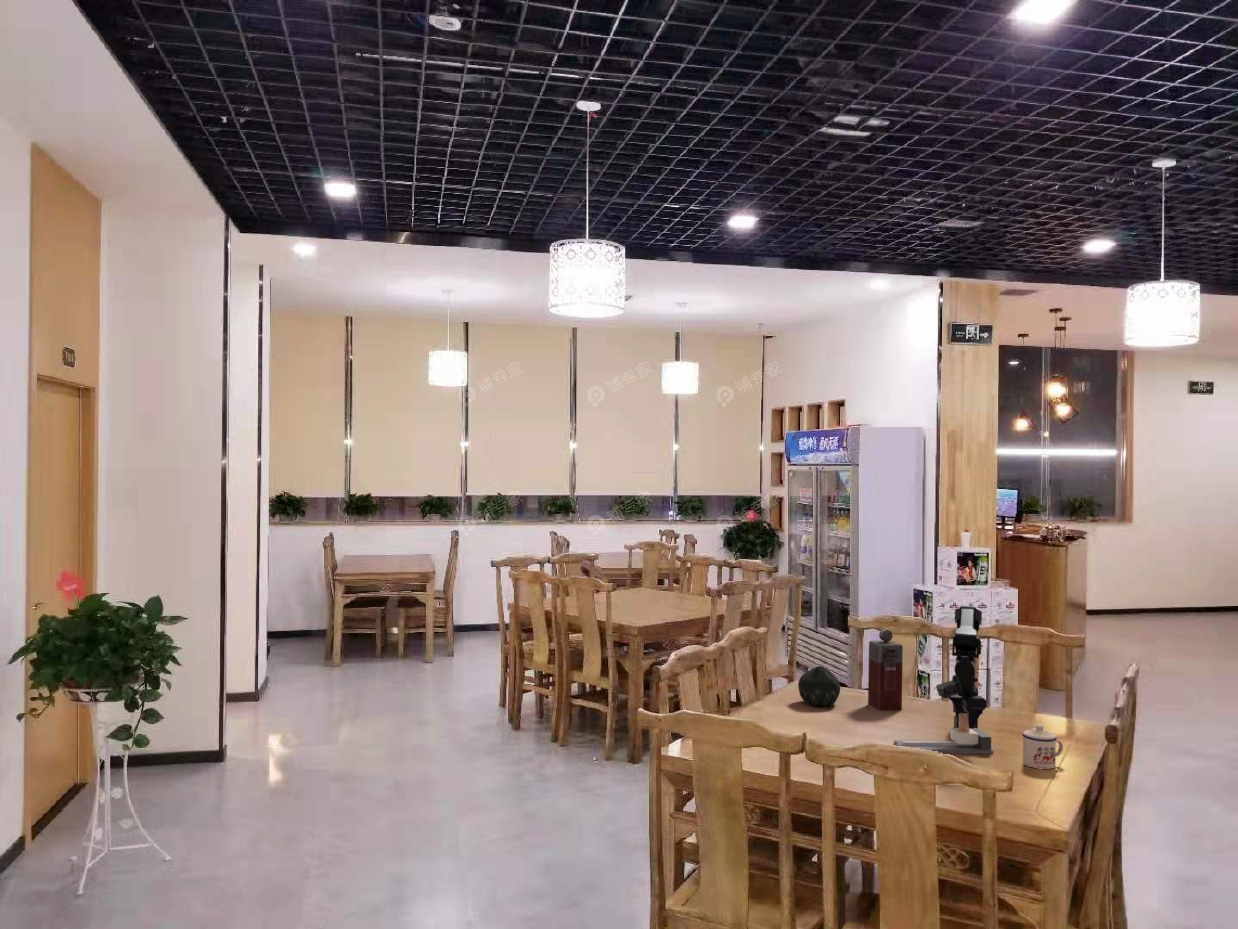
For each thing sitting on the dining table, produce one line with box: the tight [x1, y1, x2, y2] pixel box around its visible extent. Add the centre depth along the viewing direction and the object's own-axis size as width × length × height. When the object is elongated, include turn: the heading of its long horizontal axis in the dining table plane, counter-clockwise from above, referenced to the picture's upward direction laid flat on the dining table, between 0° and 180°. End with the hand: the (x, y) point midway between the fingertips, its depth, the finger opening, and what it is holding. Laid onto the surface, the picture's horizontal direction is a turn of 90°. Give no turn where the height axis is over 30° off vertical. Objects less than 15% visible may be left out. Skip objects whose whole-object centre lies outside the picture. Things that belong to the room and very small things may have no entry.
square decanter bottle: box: [867, 628, 904, 712], centre depth 340 cm, size 9×11×28 cm
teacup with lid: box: [1022, 724, 1064, 770], centre depth 275 cm, size 12×9×12 cm
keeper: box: [949, 713, 978, 744], centre depth 291 cm, size 6×6×8 cm
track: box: [893, 727, 994, 755], centre depth 290 cm, size 27×10×5 cm, turn 92°
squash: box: [797, 665, 841, 707], centre depth 344 cm, size 14×15×15 cm
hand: (964, 724), depth 291 cm, fingers open, 9 cm apart
